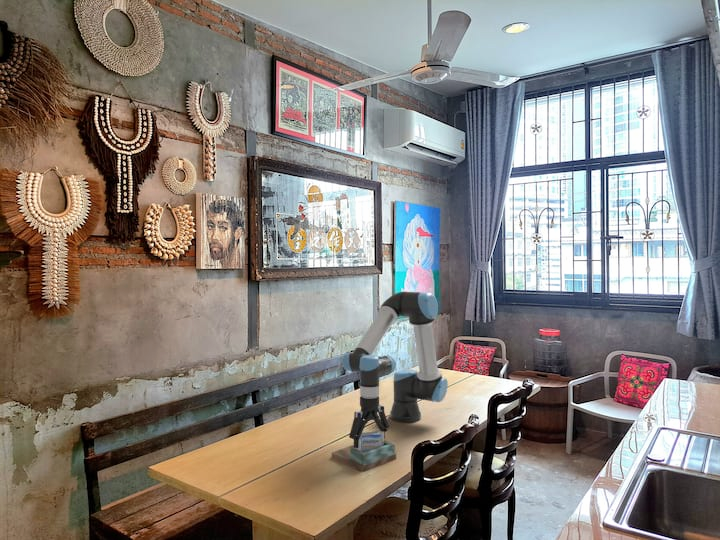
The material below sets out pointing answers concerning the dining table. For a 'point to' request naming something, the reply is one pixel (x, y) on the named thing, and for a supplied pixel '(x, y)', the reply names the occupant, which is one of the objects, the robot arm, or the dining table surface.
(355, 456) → the dock
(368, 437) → the medicine box
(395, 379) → the robot arm
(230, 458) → the dining table surface
